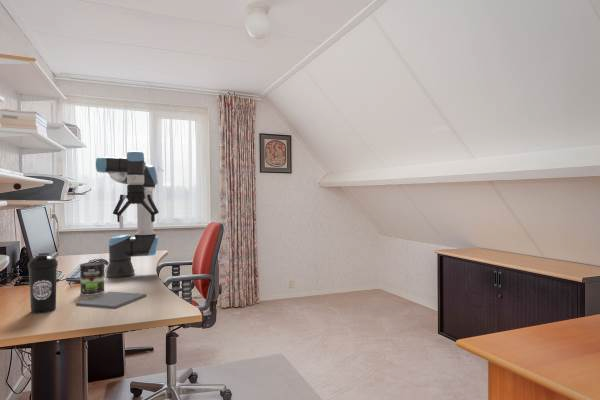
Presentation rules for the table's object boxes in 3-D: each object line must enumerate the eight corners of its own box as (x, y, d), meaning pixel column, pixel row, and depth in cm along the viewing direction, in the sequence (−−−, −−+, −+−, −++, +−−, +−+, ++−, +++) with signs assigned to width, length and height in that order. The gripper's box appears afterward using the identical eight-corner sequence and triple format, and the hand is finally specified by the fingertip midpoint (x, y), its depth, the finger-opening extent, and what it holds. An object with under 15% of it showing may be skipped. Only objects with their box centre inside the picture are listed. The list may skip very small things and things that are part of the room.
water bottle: (26, 315, 151) (25, 256, 151) (30, 308, 160) (29, 253, 160) (57, 311, 156) (56, 254, 156) (59, 305, 165) (58, 251, 165)
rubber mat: (109, 293, 184) (109, 291, 184) (146, 296, 179) (146, 293, 179) (75, 305, 165) (75, 302, 165) (115, 308, 160) (115, 306, 160)
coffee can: (104, 294, 183) (103, 264, 183) (79, 296, 179) (78, 266, 179) (105, 289, 193) (105, 261, 192) (81, 291, 188) (81, 262, 188)
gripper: (105, 184, 178) (105, 230, 179) (160, 183, 180) (161, 229, 181) (111, 184, 186) (112, 228, 186) (164, 184, 188) (165, 228, 188)
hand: (136, 229), depth 183 cm, fingers open, 13 cm apart
